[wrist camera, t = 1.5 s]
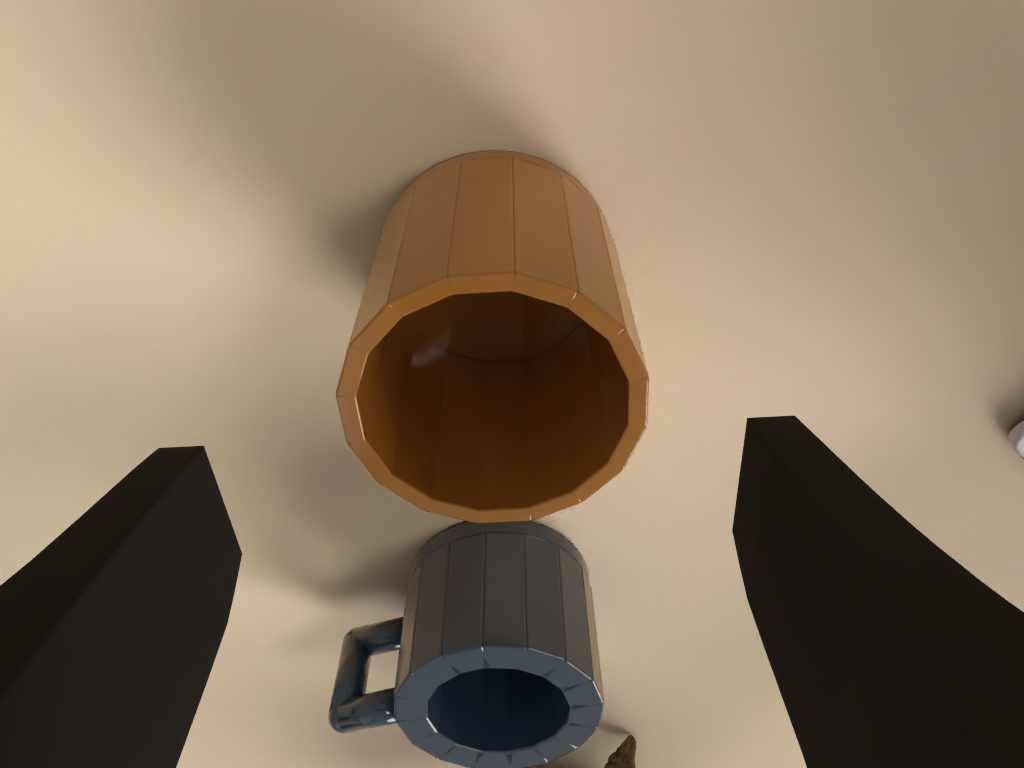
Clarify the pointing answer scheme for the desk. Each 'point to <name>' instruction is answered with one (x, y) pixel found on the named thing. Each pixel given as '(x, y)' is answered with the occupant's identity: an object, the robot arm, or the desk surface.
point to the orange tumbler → (494, 345)
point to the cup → (484, 651)
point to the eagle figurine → (623, 755)
